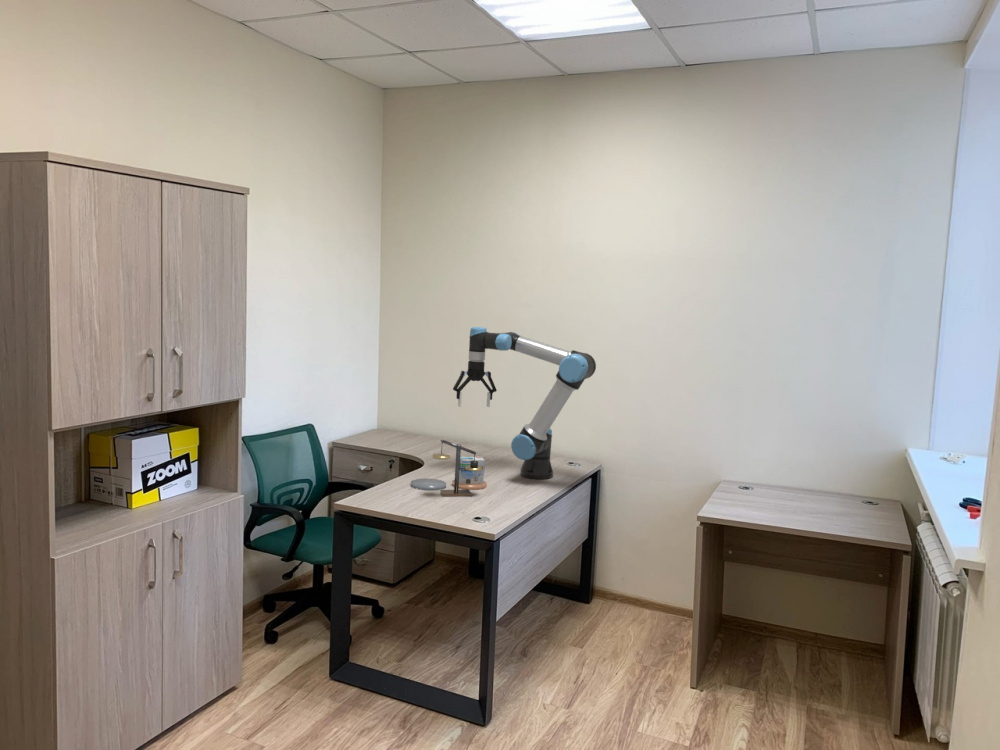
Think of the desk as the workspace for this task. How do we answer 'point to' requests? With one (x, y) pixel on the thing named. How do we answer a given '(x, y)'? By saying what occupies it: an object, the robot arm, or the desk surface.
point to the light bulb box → (471, 476)
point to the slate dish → (428, 484)
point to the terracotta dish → (471, 486)
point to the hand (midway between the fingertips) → (473, 406)
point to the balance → (472, 467)
